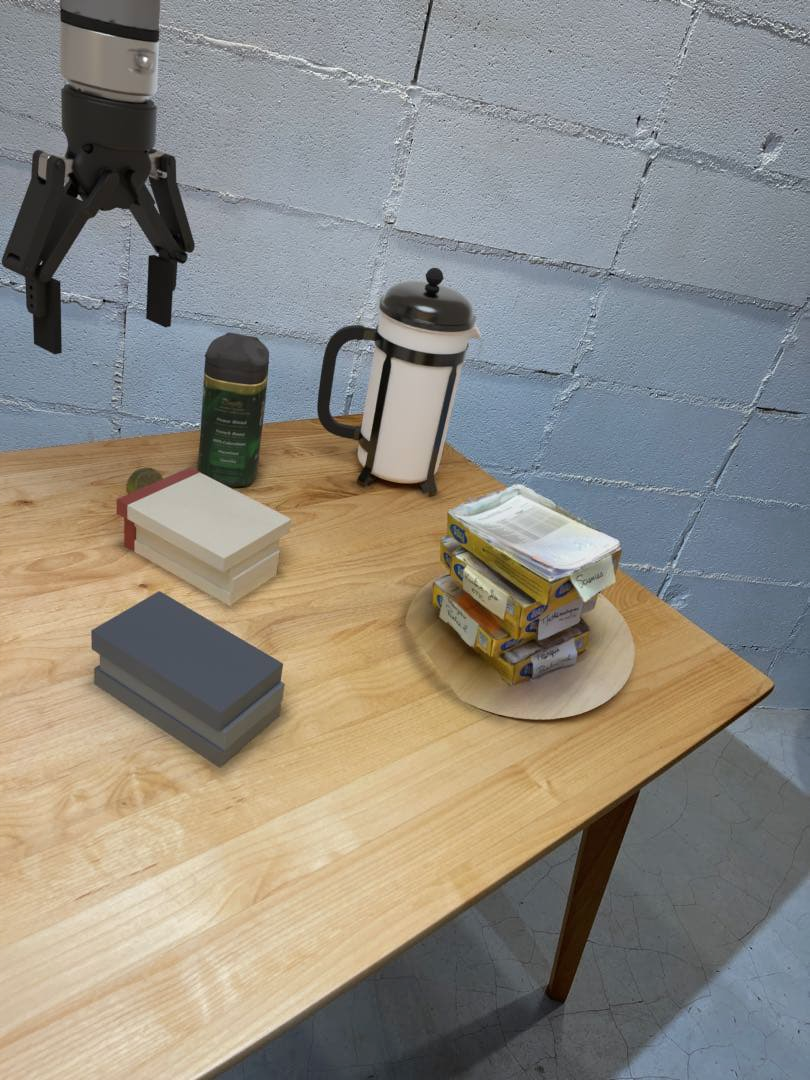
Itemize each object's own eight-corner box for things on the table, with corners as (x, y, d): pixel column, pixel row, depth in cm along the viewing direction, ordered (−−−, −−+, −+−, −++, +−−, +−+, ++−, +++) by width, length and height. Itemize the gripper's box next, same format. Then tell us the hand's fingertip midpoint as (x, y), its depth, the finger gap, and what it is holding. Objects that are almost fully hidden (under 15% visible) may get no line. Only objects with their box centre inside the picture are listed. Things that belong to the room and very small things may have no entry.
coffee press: (393, 440, 128) (430, 246, 113) (465, 487, 120) (517, 283, 104) (305, 461, 117) (333, 249, 101) (378, 515, 108) (421, 292, 93)
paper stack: (467, 746, 76) (512, 606, 67) (372, 588, 94) (397, 461, 86) (668, 704, 87) (730, 578, 78) (548, 569, 105) (587, 454, 96)
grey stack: (92, 686, 74) (90, 630, 70) (158, 643, 80) (160, 590, 77) (219, 771, 69) (224, 715, 65) (280, 718, 75) (287, 664, 71)
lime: (165, 496, 103) (166, 461, 100) (162, 517, 99) (163, 481, 96) (128, 494, 102) (128, 458, 99) (124, 514, 98) (124, 478, 95)
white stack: (123, 547, 92) (123, 507, 89) (175, 521, 98) (177, 483, 96) (229, 608, 87) (232, 567, 84) (277, 576, 93) (282, 537, 90)
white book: (116, 513, 88) (116, 499, 87) (189, 480, 97) (190, 466, 96) (222, 573, 83) (224, 558, 82) (290, 532, 91) (292, 518, 90)
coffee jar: (254, 494, 107) (267, 360, 97) (192, 485, 106) (200, 350, 96) (261, 460, 115) (274, 333, 105) (204, 452, 114) (212, 323, 104)
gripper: (8, 95, 57) (22, 377, 68) (243, 107, 76) (223, 325, 87) (-62, 69, 59) (-38, 346, 70) (183, 87, 79) (170, 302, 90)
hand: (106, 335), depth 79 cm, fingers open, 13 cm apart
